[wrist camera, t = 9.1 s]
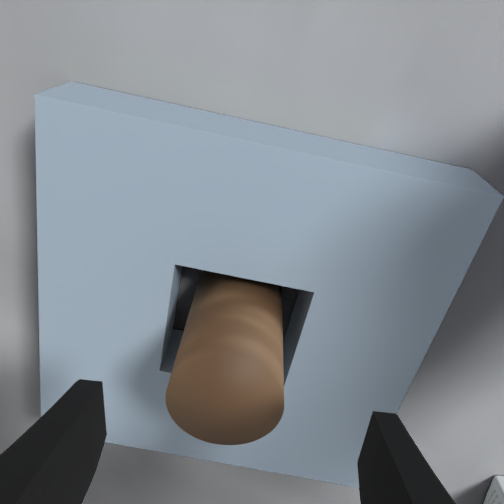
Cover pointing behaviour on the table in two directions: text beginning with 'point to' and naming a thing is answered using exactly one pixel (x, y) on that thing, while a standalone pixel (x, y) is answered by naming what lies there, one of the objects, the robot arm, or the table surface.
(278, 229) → the socket block
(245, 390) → the walnut peg
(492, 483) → the skincare box
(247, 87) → the table surface
